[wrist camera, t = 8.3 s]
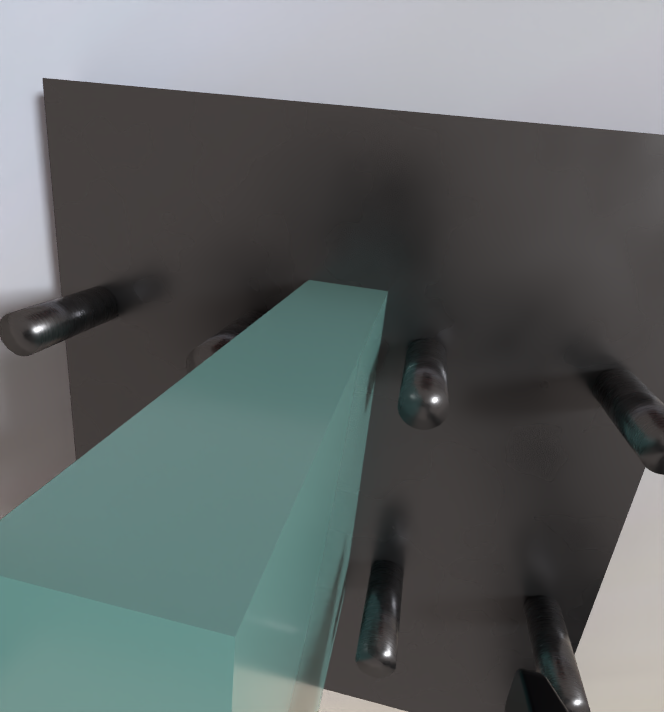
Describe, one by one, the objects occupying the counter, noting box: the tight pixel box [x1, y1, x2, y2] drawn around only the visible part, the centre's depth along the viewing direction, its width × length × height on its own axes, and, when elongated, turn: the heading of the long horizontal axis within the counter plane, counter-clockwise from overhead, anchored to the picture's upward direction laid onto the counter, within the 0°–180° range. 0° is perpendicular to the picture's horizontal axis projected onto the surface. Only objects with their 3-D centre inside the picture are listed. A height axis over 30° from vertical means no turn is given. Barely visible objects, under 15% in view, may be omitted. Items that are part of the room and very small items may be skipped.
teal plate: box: [0, 280, 388, 712], centre depth 10 cm, size 10×2×10 cm, turn 174°
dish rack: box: [0, 78, 664, 712], centre depth 13 cm, size 18×16×4 cm
